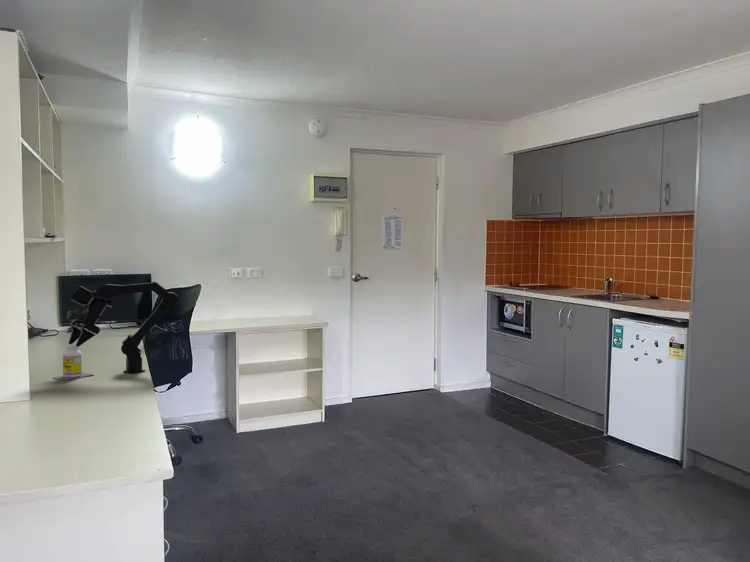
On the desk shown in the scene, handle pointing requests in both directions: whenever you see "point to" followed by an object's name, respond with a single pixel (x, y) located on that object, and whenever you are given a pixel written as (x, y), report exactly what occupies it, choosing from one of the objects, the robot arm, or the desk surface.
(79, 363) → the supplement bottle
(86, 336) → the robot arm
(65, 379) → the mat
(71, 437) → the desk surface
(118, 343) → the desk surface
